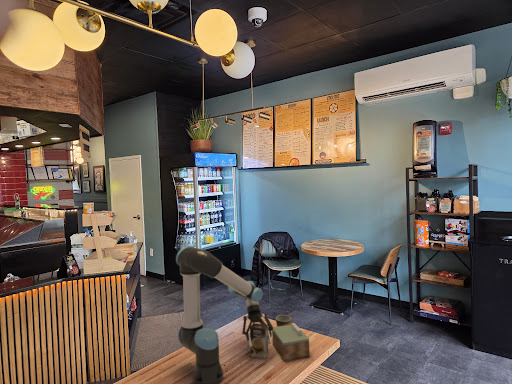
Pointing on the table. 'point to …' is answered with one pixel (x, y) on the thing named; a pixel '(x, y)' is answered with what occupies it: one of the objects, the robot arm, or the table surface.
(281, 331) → the lid
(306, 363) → the table surface
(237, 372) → the table surface
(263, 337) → the coffee box
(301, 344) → the toolbox
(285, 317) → the ceramic cup
